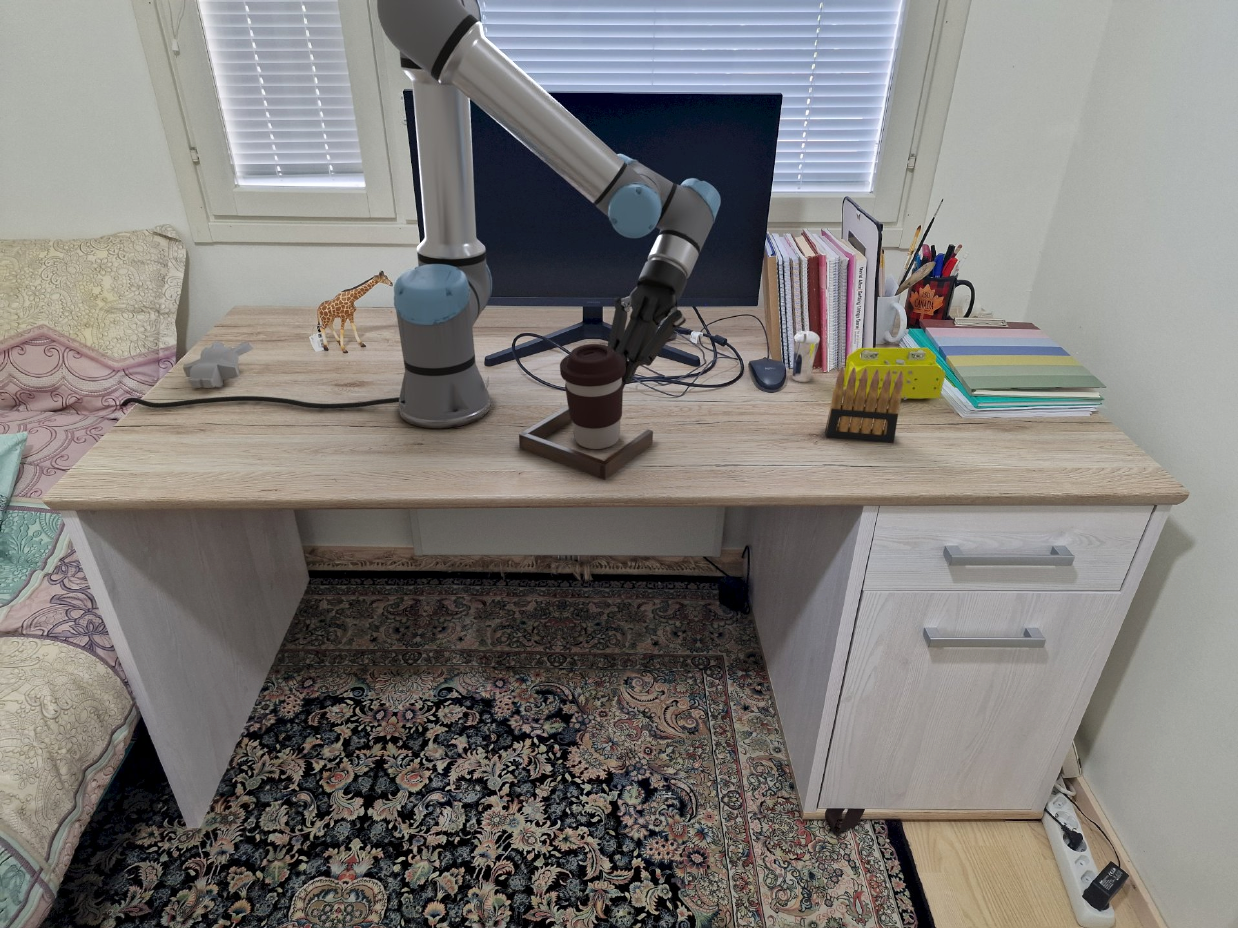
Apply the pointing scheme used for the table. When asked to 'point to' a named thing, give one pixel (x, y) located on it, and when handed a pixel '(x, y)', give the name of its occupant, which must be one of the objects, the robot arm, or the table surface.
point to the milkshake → (804, 355)
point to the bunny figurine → (215, 365)
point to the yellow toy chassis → (917, 371)
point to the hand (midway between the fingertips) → (609, 398)
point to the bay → (583, 462)
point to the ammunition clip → (864, 408)
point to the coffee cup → (594, 394)
